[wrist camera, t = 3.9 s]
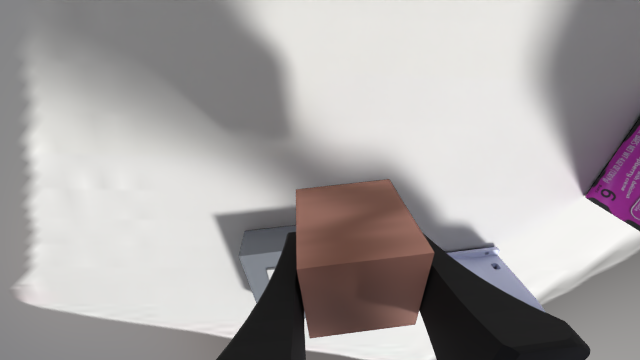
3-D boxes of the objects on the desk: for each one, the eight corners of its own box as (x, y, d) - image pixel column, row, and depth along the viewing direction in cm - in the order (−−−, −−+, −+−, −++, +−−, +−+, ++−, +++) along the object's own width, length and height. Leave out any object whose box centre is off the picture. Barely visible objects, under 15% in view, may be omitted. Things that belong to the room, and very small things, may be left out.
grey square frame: (358, 217, 24) (367, 242, 21) (357, 286, 29) (364, 312, 27) (244, 231, 23) (238, 258, 20) (266, 297, 29) (264, 325, 26)
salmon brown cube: (389, 179, 13) (434, 252, 9) (382, 244, 16) (415, 324, 11) (295, 189, 13) (296, 269, 9) (305, 253, 16) (309, 338, 11)
